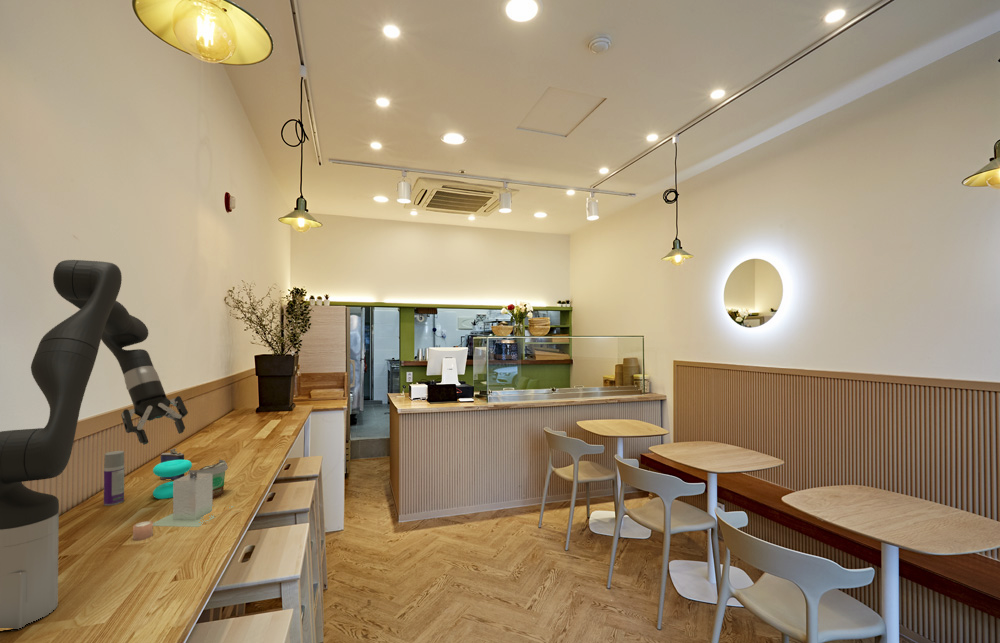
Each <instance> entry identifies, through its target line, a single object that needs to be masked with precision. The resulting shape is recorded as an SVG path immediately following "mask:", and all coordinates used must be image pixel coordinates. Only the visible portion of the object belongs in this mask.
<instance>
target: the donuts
mask: <svg viewBox="0 0 1000 643" xmlns="http://www.w3.org/2000/svg"><path fill="white" fill-rule="evenodd" d="M192 467H193V463H192V462H191V460H188V459H184V460H171V461H166V462H163V463H161V462H159V463H158V464H156V465H155V466H154V467H153V469H152V472H153V474H154V475H156V476H157V477H159V478H160V477H172V476H177V475H181V474H184V475H185V473H187V472H189V470H192V469H191V468H192ZM152 495H153V497H154V498H155V499H158V500H165V499H173V481H172V480H170V481H168V482H167V481H166V482H164V483H161V484H159V485H158V486H156V487H155V488H154V489H153V491H152Z"/></svg>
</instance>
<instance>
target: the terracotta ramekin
mask: <svg viewBox="0 0 1000 643" xmlns="http://www.w3.org/2000/svg"><path fill="white" fill-rule="evenodd" d="M153 523H154V521H152V520H147V521H146V520H145V521H140V522H137V523H135V524H134V525H133V527H132V529H133V530H132V534H133V537H132V539H133V540H134V541H143V540H146V539H149V538H151V537H152V536H153V535H154V533H153V532H154V531H153V528H154V526H153Z"/></svg>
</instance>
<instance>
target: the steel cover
mask: <svg viewBox="0 0 1000 643" xmlns="http://www.w3.org/2000/svg"><path fill="white" fill-rule="evenodd" d="M212 494H213V474H206V473H197V472H191V473H190V474H187V475H184V476H183V477H181V478H179V479H176V480H174V481H173V498H172V505H173V506H172V512H173V520H197V519H199V518H201V517H203V516H204V515H206V514H208V513H210V512H211V511H212V506H213V499H212Z"/></svg>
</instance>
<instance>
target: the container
mask: <svg viewBox="0 0 1000 643" xmlns="http://www.w3.org/2000/svg"><path fill="white" fill-rule="evenodd" d="M103 462H104V463H103V466H104V467H103V505H104V506H105V507H108V506H110V505H111V506H115V505H119V503H120V504H122V503H123V502H125V451H124V450H114V451H109V452H105V453H104V460H103Z"/></svg>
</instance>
